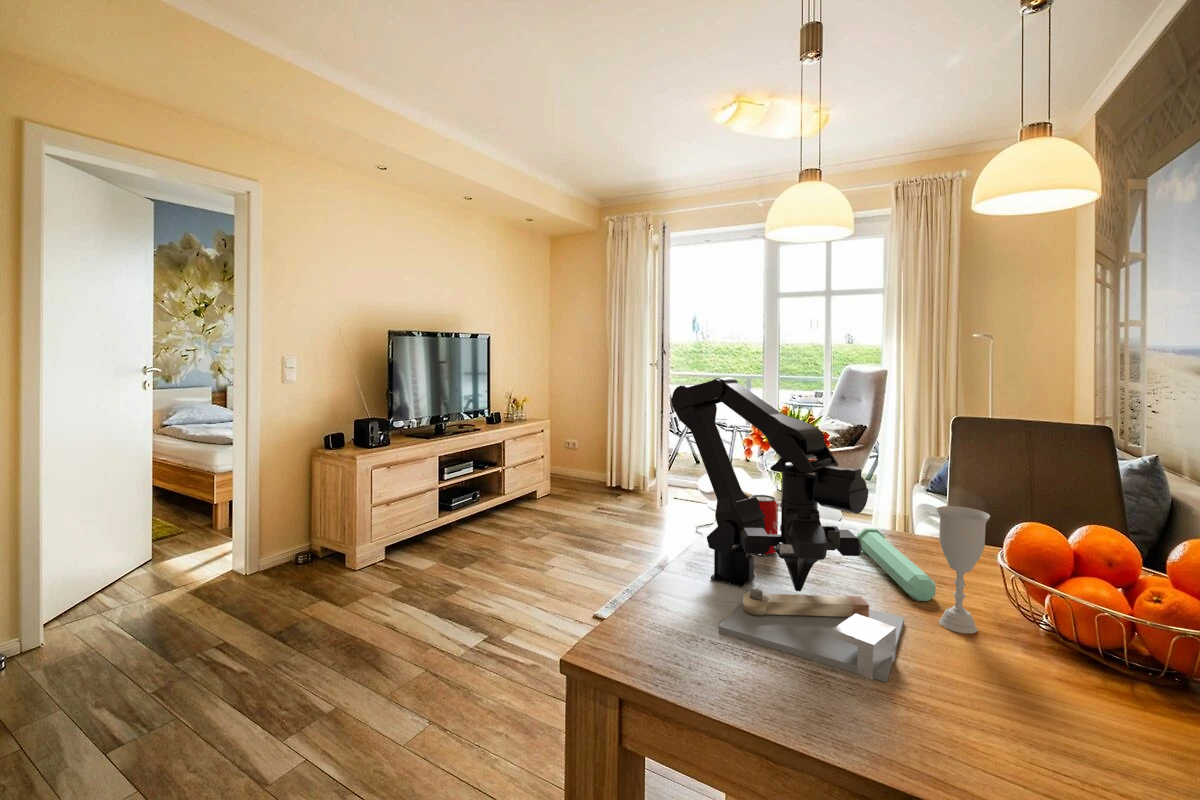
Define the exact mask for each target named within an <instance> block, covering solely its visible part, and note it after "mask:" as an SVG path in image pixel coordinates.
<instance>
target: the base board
mask: <svg viewBox="0 0 1200 800" xmlns="http://www.w3.org/2000/svg"><path fill="white" fill-rule="evenodd" d="M755 589H759V590H761V591H762V592H763V594H786V595H807V594H805V593H800V592H798V591H794V590H793V591H792V590H787V589H784V588H780V587H779V588H778V587H777V586H776V587H774V586H770V585H766V584H761V583H760V584H759V585H757V586H756V587H755ZM848 618H850V617H842V616H811V615H779V614H765V615H753V614H749V613H747V612H745V611H744V610H743V601H742V602H740V604H739V605H738V606H737V607H736V608H735V609H734V610H733V611H731V613H730V614H729V615H728V616H727V617H726V618H725V619H724V621H722V622H721V623H720V624H719V625H718V633H719V634H722V635H727V636H728V637H729V636H730V637H732V638H736V639H740V640H742V641H746V642H749V643H754V644H755V645H756V644H757V645H761V646H762V647H766V648H769V649H773V650H777V651H780V652H783V653H787V654H790V655H793V656H797V657H799V658H802V659H803V658H804V659H807V660H810V661H813V662H817V663H820V664H823V665H828V666H830V667H832V668H833V667H834V668H837V669H840V670H844V671H847V672H850V673H854V674H857V656H858V646H856V645H854V644H851V643H849V642H846V641H844V640H841V639H839V638H836V637H833V636H832V629H833V628H835V627H836V626H838V625H839V624H841V623H842V622H844V621H845V620H847V619H848ZM869 618H871V619H874V620H876V621H879V622H882V623H885V624H888V625H891V626H894V627H896V646H895V654H896V653H897V650H898V644H899V642H900V639H901V635H902V632H903V628H904V626H905V616H899V615H895V614H891V613H886V612H882V611H878V610H874V609H871V608H869ZM892 659H893V656H892V657H891V658H890V659H889V660H887V661H886V662H885V663H884V664H883V665H882V666H880V667H879V668H878V669H877V670H876V671H875V675H874V679H873V680H878V681H880V682H885V683H888V679H889V676H890V672H891V669H892V665H893V663H892Z"/></svg>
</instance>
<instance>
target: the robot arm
mask: <svg viewBox="0 0 1200 800" xmlns="http://www.w3.org/2000/svg"><path fill="white" fill-rule="evenodd" d="M670 403H671V407H672V408H673V411H674V413H675V414H676V417H677V418H678V420H679V421H680V422H681V423H682V424H683V425H685V426H686V427H687V429H688V430H690V431H691V434H692V436H693V439H694V441H695V444H696V447H697V450H698V453H699V456H700V458H701V460H702V463H703V465H704V468H705V471H706V473H707V476H708V480H709V481H710V484H711V486H712V490H713V492H714V495H715V497H716V509H715V521H716V525H717V527H716V528H715V529H713V531H711V532H710V533H709V534H708V535H707V536H706V541H707V545H708V548H709V549H712V550H713V551H714V553H713V554H714V557H713V558H714V559H713V561H714V562H713V565H714V566H713V567H714V568H713V571H714V573H713V574H711V576H710V580H712V581H716V582H720V583H725V584H728V585H732V586H737V587H742V588H743V587H744V586H746V585H747V584H748V583H749V582H750V581H751V580H752V579H753V578H754V577H755V556H754V555H757V554H765V553H766V552H767V551H769V550H770V546H773V548H774V550H775V551H776V552H775V553H776V554H777V556H778V557H779V559H782V560H784V562H785V565H786V567H787V571H788V573H789V576H790V577H789V578H790V580H791V582H792V585H793V589H794V591H795V592H802V590H803V587H804V585H805V582H806V581H807V578H808V576H809V573H810V571H811V570H812V568H813V566H814V565H815V564H816V563H817V562H818V561H823V560H825V559H826V558H827V552H828V551H836V550H837V552H838V553H840V555H841V556H843V557H860V556H862V553H863V552H862V545H861V541H860V540H859V539H858V538H857V535H855V534H854V533H852V532H851V531H850V530H849V529H839V527H838V526H837V525H822V523H821V520H820V519H821V518H820V517H821V515H820V511H819V509H818V504H819V506H821V507H824V508H829V509H834V510H838V511H843V512H847V513H850V514H851V513H852V514H854V515H855V514H856V515H857V514H861V513H862V512H863V510H865V507H866V505H867V502H868V498H869V487H868V486H867V483H866V482H867V481H866V480H865V478H864V477H862V469H860V468H855V467H849V468H848V467H841V466H839V463H838V461H837V459H836V458H835V456H834V454H832V451H831V450H830V449H829V446H828V445H827V444H826V441H825V434H824V433H823V432H822V430H820V428H818V427H816V426H815V425H813V424H810V423H808V422H807V421H804V420H803V419H802V420H800V419H799V418H794V417H791V416H787V415H785V414H784V413H782V412H780V411H779V410H777V408H775V407H773V406H771V404H768V403H767V402H766V401H765V400H763V399H762V398H760V397H759V396H757V395H756V394H755V393H753V392H751V391H750V390H749V389H747V388H746V387H744V386H743V385H741V383H739V381H738V380H737V379H735V378H733V377H717V378H714V379H712V380H708V381H707V382H703V383H699V384H688V385H687V384H686V385H679V386H677V387H676V388H675V389H674V390H673V392H672V396H671V398H670ZM720 403H722V404H724V405H725V406H726V407H728V408H729V409H731V411H733V412H735V414H737V415H738V416H740V417H741V418H742V419H744V420H745V421H746V422H748V423H749V424H750V425H752V426H753V427H755V429H757V430H759V431H760V432H761V433H762V434H763V435H764V436H765V437H766V440H767V442H768V445H769V447H771V448H772V450H773V451H774V452H775V453H776V454H777V455H778V456H779V457H780V458H779V459H778V461H777V462H776V463H774V464H773V465H772V466H770V470H771V471H772V472H777V473H781V501H780V509H781V510H780V512H781V514H780V515H781V519H780V525H779V526H780V527H779V531H780V534H777V535H771V534H767V533H766V531H765V530H764V529H765V522H764V519H763V518H765V517H766V516H765V515H764V514H763V512H762V510H761V508H760V504H759V501H758V499H757V498H756V497H752V498H751V497H749V496H748V495H747V494H746V493H744V492H743V490H742V488H741V485H740V482H739V480H738V478H737V477H738V476H737V474H736V473H735V470H734V467H733V465H732V462H731V460H730V457H729V455H728V452H727V449H726V446H725V444H724V442H723V439H722V437H721V434H720V432H719V430H718V427H717V425H716V417H717V410H718V407H717V404H720ZM752 554H754V555H752Z"/></svg>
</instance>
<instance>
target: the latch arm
mask: <svg viewBox="0 0 1200 800" xmlns="http://www.w3.org/2000/svg"><path fill="white" fill-rule="evenodd" d="M742 602H743V610H744V611H745V612H747V613H749V614H753V615H765V614H779V615H811V616H842V617H851V616H853V615H854V614H859V615H862V616H865V617H868V618H869V609H870V605H869V603H868V602H867V601H866V599H864V598H863V597H862V596H860V595H859V596H857V595H856V596H855V595H822V594H821V595H819V594H817V595H816V594H815V595H814V594H813V595H812V594H811V595H810V594H806V595H786V594H763V592H762V591H761V590H759V589H756V588H751V589H749V592H747V593H744V594H743V595H742Z"/></svg>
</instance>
